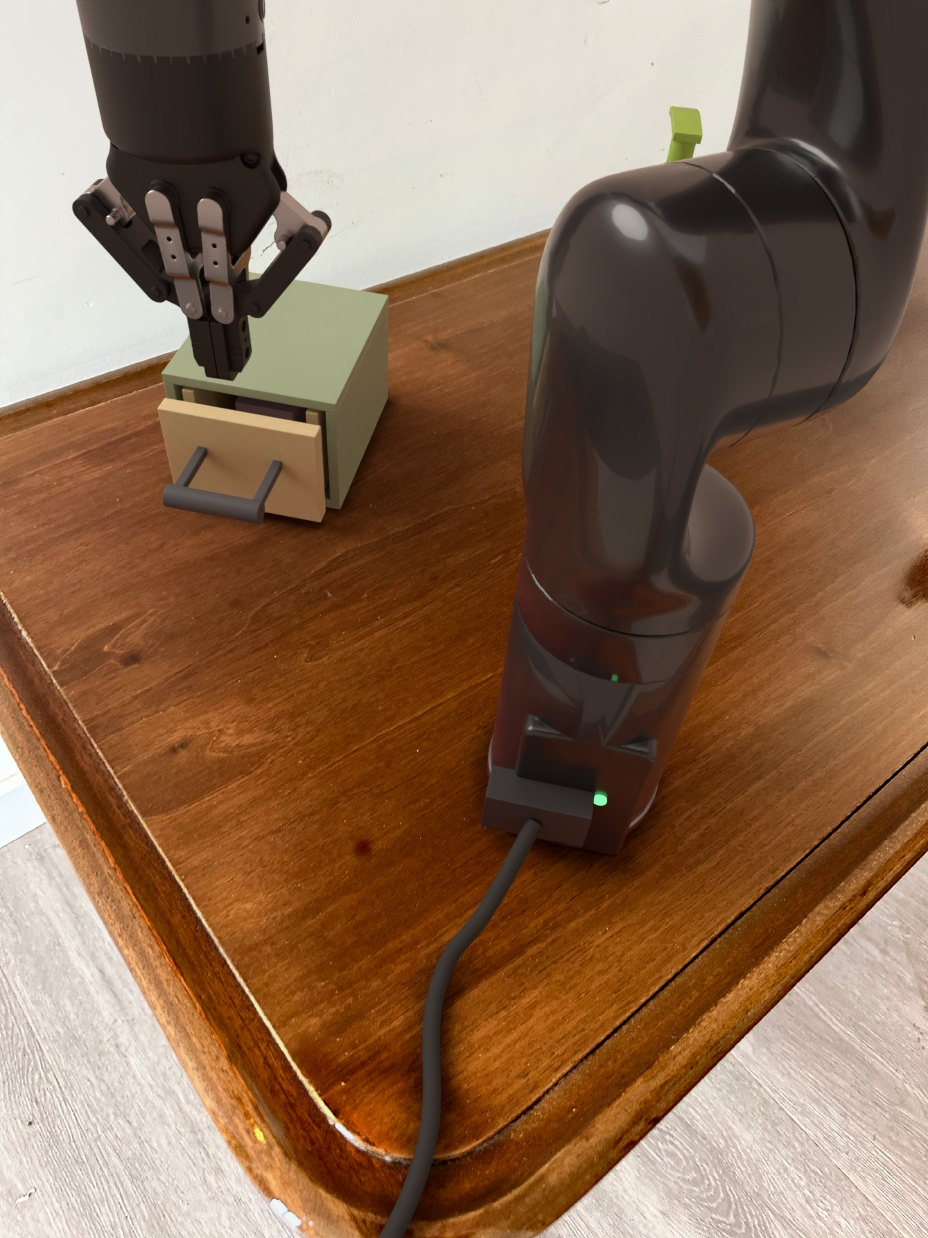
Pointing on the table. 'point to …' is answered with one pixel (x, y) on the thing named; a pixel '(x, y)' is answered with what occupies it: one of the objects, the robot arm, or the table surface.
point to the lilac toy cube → (271, 409)
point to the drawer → (243, 459)
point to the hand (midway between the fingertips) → (226, 371)
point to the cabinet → (312, 367)
